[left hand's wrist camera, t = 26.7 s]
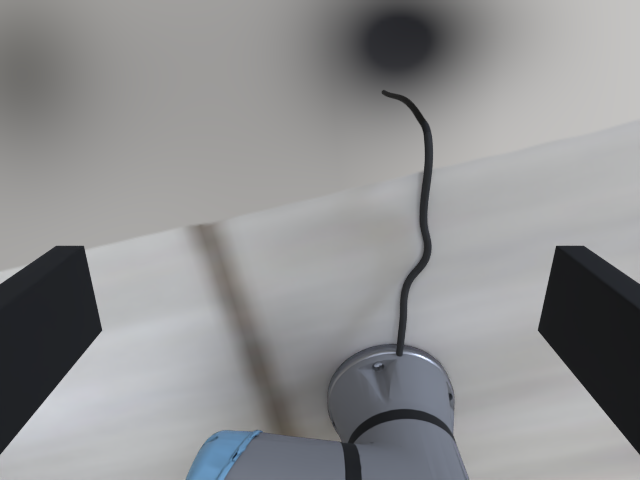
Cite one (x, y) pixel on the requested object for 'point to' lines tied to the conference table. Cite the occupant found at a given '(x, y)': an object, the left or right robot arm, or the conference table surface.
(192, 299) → the conference table surface
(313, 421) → the conference table surface
